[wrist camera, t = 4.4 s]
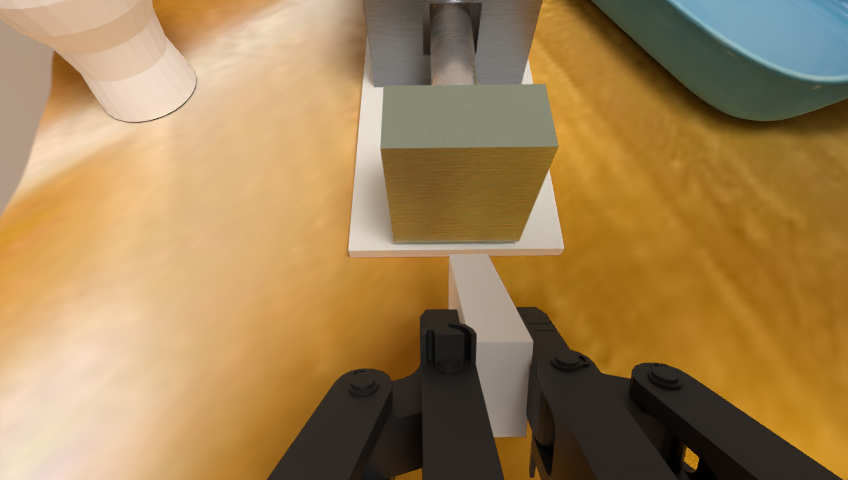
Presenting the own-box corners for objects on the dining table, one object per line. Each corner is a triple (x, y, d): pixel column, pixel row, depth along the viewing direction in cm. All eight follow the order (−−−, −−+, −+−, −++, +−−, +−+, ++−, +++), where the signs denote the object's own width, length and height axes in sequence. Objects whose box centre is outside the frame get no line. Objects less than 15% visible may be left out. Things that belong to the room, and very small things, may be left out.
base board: (560, 255, 28) (564, 248, 27) (350, 257, 28) (348, 250, 27) (516, 17, 40) (518, 7, 39) (370, 18, 40) (369, 8, 39)
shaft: (518, 241, 27) (558, 146, 19) (394, 242, 27) (380, 148, 19) (494, 56, 35) (514, -64, 27) (399, 57, 35) (391, -62, 27)
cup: (169, 33, 39) (38, -188, 26) (239, 84, 36) (128, -139, 22) (60, 94, 35) (-159, -128, 22) (126, 158, 32) (-87, -59, 19)
